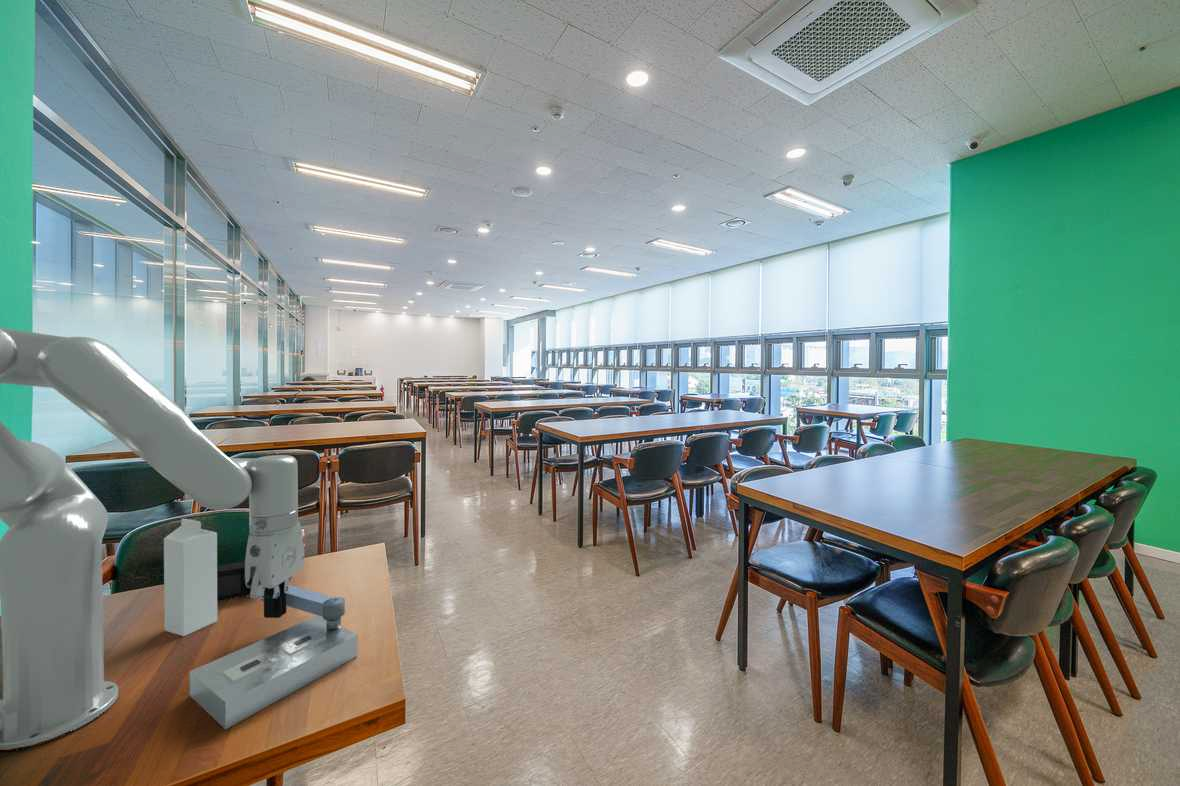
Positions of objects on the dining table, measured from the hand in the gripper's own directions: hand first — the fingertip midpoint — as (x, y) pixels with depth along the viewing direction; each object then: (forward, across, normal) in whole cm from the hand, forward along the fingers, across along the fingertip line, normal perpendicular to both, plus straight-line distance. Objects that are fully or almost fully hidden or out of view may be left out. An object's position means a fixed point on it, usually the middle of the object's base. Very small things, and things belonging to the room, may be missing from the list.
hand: (275, 615), depth 84 cm
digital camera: (+6, +19, +22) cm, 30 cm away
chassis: (+6, -8, -7) cm, 12 cm away
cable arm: (0, +2, -4) cm, 5 cm away
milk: (+6, +6, +22) cm, 23 cm away
